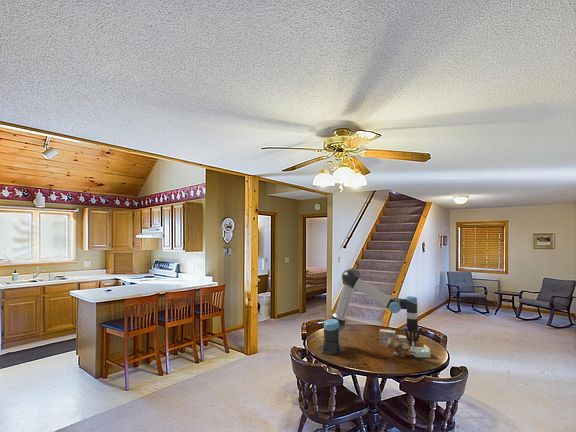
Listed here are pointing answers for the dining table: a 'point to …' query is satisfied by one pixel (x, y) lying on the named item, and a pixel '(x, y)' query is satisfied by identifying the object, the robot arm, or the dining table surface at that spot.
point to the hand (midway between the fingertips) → (412, 350)
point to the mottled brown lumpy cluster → (393, 342)
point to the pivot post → (399, 351)
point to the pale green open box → (422, 354)
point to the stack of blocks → (390, 334)
